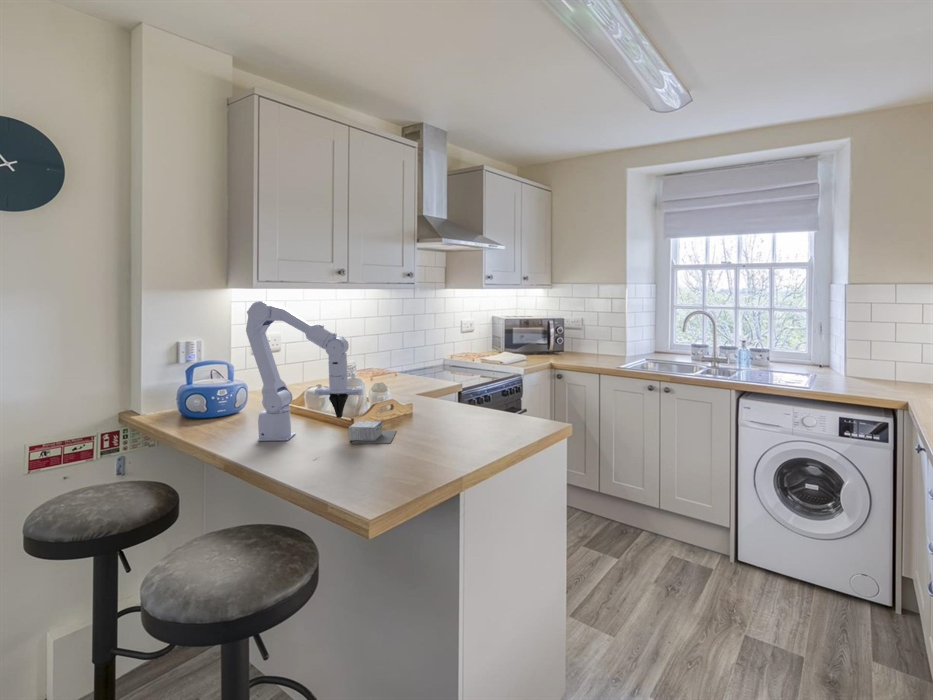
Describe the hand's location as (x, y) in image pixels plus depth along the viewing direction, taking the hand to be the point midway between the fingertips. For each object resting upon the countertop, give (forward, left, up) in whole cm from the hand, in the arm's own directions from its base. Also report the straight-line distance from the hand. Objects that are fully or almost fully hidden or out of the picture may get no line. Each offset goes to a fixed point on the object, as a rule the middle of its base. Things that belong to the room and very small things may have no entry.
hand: (339, 417), depth 164 cm
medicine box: (+4, 0, -4) cm, 6 cm away
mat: (+11, 0, -7) cm, 13 cm away
